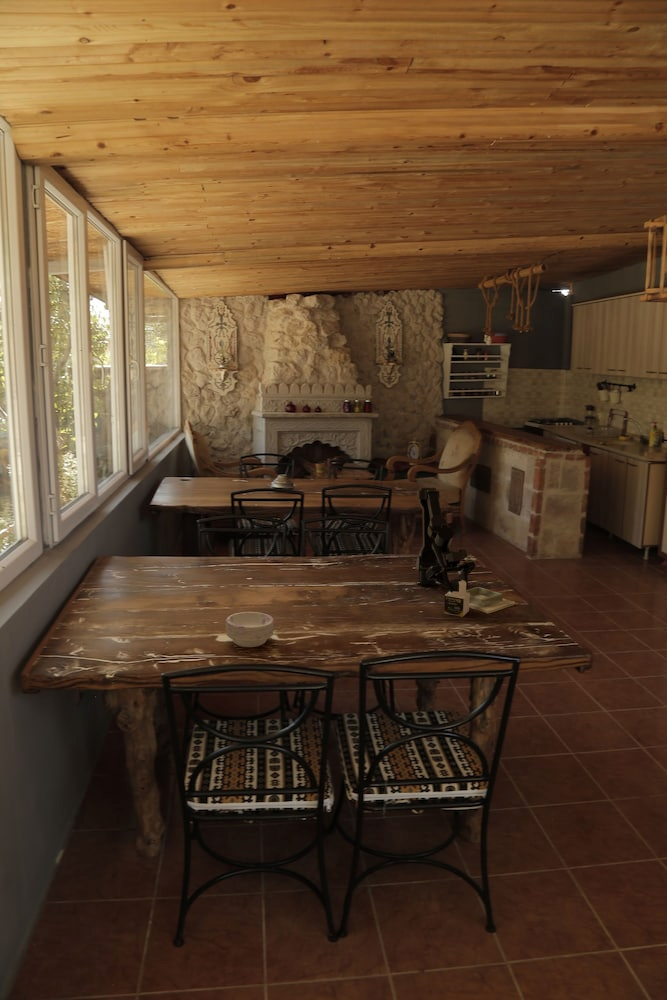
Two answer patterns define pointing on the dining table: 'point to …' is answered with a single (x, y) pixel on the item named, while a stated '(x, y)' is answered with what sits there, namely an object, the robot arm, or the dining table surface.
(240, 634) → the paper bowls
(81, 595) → the dining table surface
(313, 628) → the dining table surface
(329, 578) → the dining table surface
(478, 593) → the holder board
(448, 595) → the medicine bottle
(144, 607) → the dining table surface
